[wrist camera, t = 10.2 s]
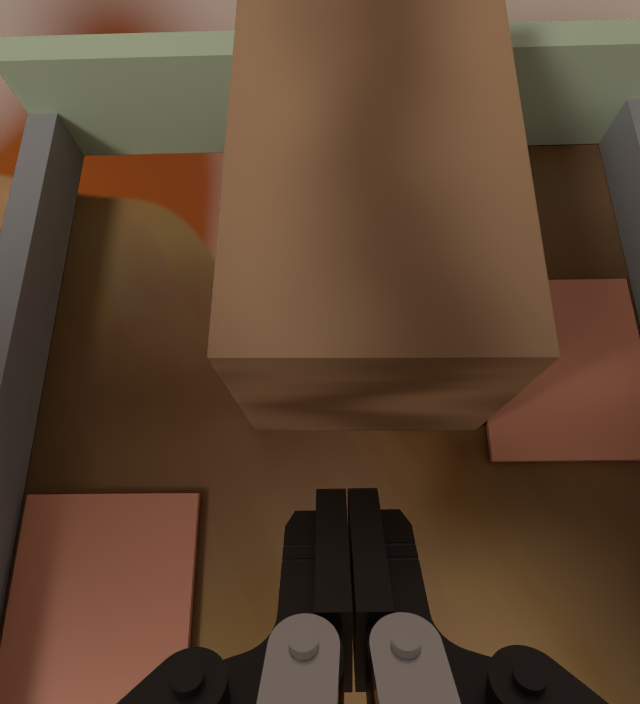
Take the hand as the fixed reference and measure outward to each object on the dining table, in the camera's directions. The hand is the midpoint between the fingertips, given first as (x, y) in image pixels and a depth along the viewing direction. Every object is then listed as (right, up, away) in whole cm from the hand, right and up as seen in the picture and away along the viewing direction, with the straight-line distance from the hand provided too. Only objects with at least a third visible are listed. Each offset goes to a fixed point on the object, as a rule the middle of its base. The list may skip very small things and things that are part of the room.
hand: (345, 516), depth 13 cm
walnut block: (+1, +7, +8) cm, 11 cm away
